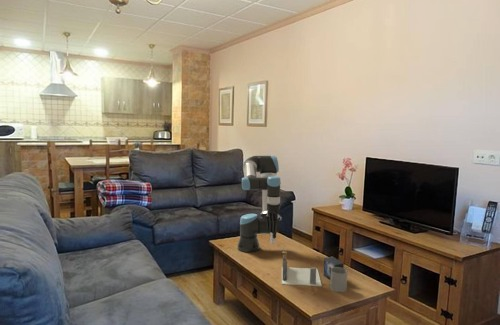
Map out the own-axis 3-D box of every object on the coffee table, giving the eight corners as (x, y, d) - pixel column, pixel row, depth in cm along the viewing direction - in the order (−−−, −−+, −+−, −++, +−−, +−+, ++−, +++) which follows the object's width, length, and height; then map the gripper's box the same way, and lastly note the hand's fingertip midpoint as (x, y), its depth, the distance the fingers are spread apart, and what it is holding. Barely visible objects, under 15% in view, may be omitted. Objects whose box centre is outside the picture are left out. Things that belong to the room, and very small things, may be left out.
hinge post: (282, 279, 195) (282, 260, 193) (286, 279, 194) (287, 260, 193) (282, 281, 192) (282, 262, 191) (286, 281, 192) (287, 262, 191)
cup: (336, 293, 180) (337, 274, 178) (326, 286, 187) (327, 268, 186) (349, 290, 183) (350, 272, 182) (339, 283, 191) (340, 266, 189)
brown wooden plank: (282, 277, 195) (282, 262, 194) (282, 265, 211) (282, 251, 210) (286, 277, 195) (287, 262, 194) (286, 265, 211) (286, 251, 210)
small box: (322, 275, 201) (323, 257, 199) (332, 273, 203) (332, 256, 202) (333, 283, 191) (334, 264, 190) (343, 281, 194) (344, 262, 192)
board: (281, 268, 210) (281, 267, 210) (317, 269, 208) (317, 268, 208) (281, 284, 189) (281, 283, 189) (321, 286, 187) (321, 285, 187)
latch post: (309, 283, 191) (310, 267, 190) (315, 283, 191) (315, 267, 190) (310, 285, 189) (310, 269, 187) (315, 285, 188) (316, 269, 187)
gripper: (261, 202, 205) (260, 241, 208) (276, 206, 196) (276, 247, 198) (270, 200, 210) (269, 238, 213) (286, 204, 200) (285, 244, 203)
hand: (272, 242), depth 206 cm, fingers closed
